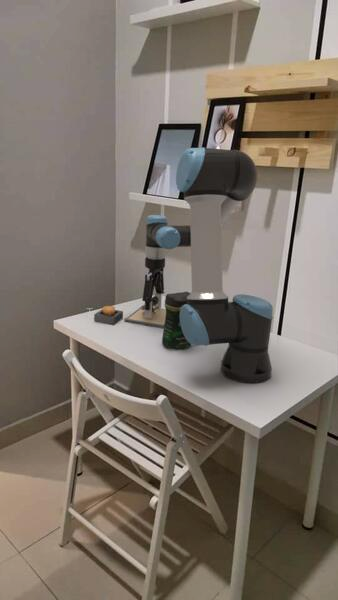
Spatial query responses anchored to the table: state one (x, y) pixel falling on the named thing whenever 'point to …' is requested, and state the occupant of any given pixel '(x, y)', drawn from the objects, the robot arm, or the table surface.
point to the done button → (109, 310)
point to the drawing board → (155, 321)
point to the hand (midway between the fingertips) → (152, 313)
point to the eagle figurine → (154, 302)
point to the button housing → (108, 317)
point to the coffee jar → (174, 322)
